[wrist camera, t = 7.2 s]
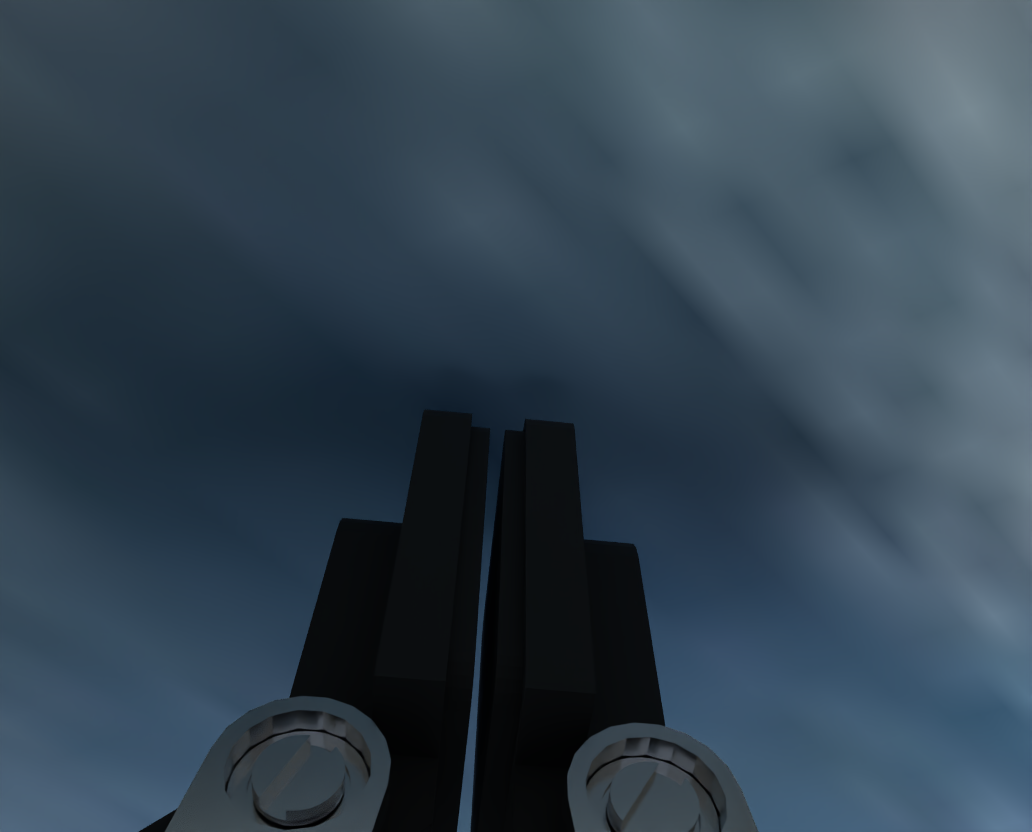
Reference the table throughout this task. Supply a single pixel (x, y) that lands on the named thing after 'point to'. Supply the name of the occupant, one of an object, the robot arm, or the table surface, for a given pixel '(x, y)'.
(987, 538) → the table surface
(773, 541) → the table surface
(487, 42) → the table surface
